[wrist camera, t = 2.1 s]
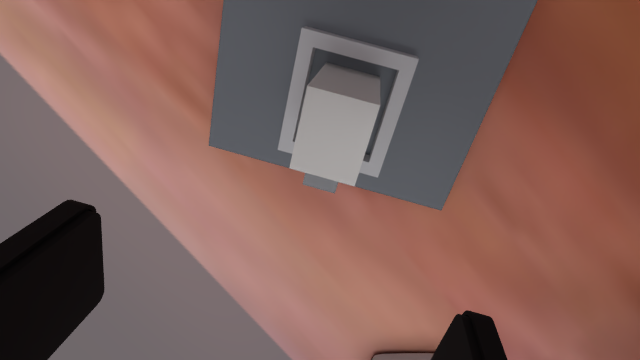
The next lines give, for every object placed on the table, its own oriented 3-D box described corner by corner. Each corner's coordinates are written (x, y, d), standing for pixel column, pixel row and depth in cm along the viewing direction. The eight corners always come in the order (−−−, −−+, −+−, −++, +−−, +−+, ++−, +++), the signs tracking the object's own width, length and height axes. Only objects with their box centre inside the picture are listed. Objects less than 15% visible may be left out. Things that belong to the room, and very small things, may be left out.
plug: (380, 76, 27) (380, 105, 20) (358, 149, 29) (350, 197, 22) (326, 62, 27) (307, 85, 20) (309, 135, 30) (286, 179, 22)
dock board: (623, -204, 20) (654, -230, 18) (439, 204, 32) (444, 220, 29) (261, -294, 20) (246, -331, 18) (213, 141, 32) (200, 152, 30)
